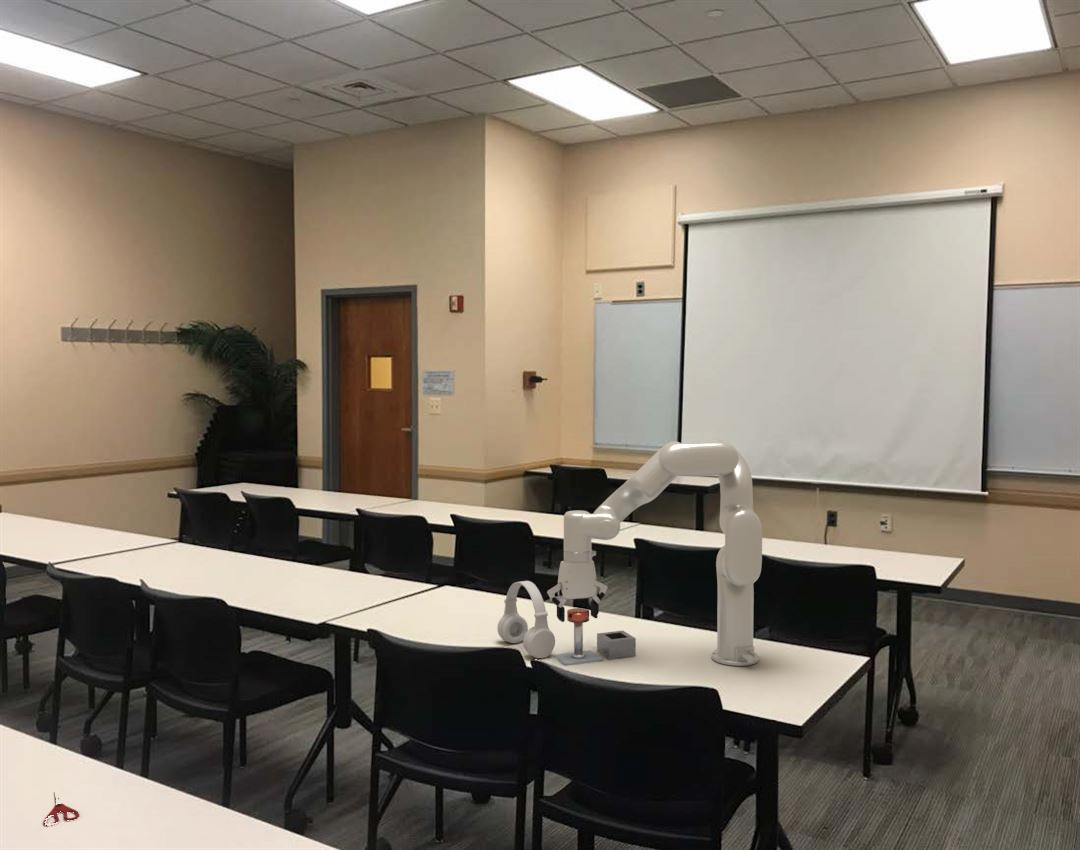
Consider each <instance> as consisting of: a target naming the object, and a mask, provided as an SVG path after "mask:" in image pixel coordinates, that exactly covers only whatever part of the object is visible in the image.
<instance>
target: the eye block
mask: <svg viewBox="0 0 1080 850" xmlns="http://www.w3.org/2000/svg"><path fill="white" fill-rule="evenodd" d="M636 641H637V639H636V637H634V636H633V635H631V634H629V633H628V632H626V631H624V630H616V631H615V630H614V631H607V632H600V633H599V632H598V633H596V652H598V653H599V654H601V655H602V656H604V658H606V659H607V660H609V661H611V660H617V659H624V658H634V657H636V655H637V653H636V651H637V650H636V649H637V648H636V643H637V642H636Z"/></svg>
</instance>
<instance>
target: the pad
mask: <svg viewBox="0 0 1080 850" xmlns="http://www.w3.org/2000/svg"><path fill="white" fill-rule="evenodd" d="M573 652H574V651H572V652H565V653H558V654H553V657H554V658H555V657H556V658H557V659H558V660H557V659H556V658H555V659H556V660H557V661H558V662H560V663H561V665H563V666H572V665H579V664H587V663H592V662H593V663H594V662H602V661H603V658H602V657H601V656H599V655H598V654H597V653H596V652H594V651H592V650H591V649H590V650H583V652H584V653H585V658H583V659H574V658H572V655H571V654H572V653H573Z"/></svg>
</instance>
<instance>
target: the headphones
mask: <svg viewBox="0 0 1080 850" xmlns="http://www.w3.org/2000/svg"><path fill="white" fill-rule="evenodd" d="M521 587H524V589H525V590H526V591H527V593H528V594H529V597H530V599H531V602H532V605H533V609H534V614H533V615H534V626H533V627H530V628H529V626H528V622H527V620H526V619H525V618H524V617H523V616H521V615H520V614H519V611H518V608H517V603H518V602H517V601H518V599H517V597H518V593H519V590H520V588H521ZM503 611H504V612H503V615H502V617H501V618H500V619H499V621H498V623H497V634H498V636H499V637H500V638H501V639H502V640H503V641H504V642H507V643H511V644H518V643H520V642H522V641H523V642H522V644H523V648H524V649H525V651H526V652H527V654H529V655H530V656H532V658H536V659H539V658H541V659H545V658H547V657H549V656H550V655H551V654H552V652H553V651H554V649H555V647H556V639H555V638H556V637H555V635H554V634H555V633H553V631H552V630H551V629H550V627H549V623H548V616H549V614H548V611H546V606H545V601H544V599H543V596H542V594H541V592H540V590H539V588H538V587H537V586H536V584H535V583H534V582H532V581H530V580H524V581H523V580H522V581H516V582H513V583H512V584H511V585H510V587H509V588H508V591H507V594H506V597H505V599H504V610H503ZM544 657H545V658H544Z"/></svg>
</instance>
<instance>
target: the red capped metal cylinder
mask: <svg viewBox="0 0 1080 850" xmlns="http://www.w3.org/2000/svg"><path fill="white" fill-rule="evenodd" d="M566 621H567V622H570V623H572V624H573V651H572V652H573V653H572V652H571V653H572V654H571V655H572V658H574V659H583V658H585V653H584V652H583V651H584V641H583V640H584V636H583V635H584V633H583V632H584V631H583V630H584V629H583V628H584V627H583V626H584V624H583V623H587V622H589V621H590V610H589V609H587V608H581V607H580V608H579V607H577V608H569V609H567V611H566Z"/></svg>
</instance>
